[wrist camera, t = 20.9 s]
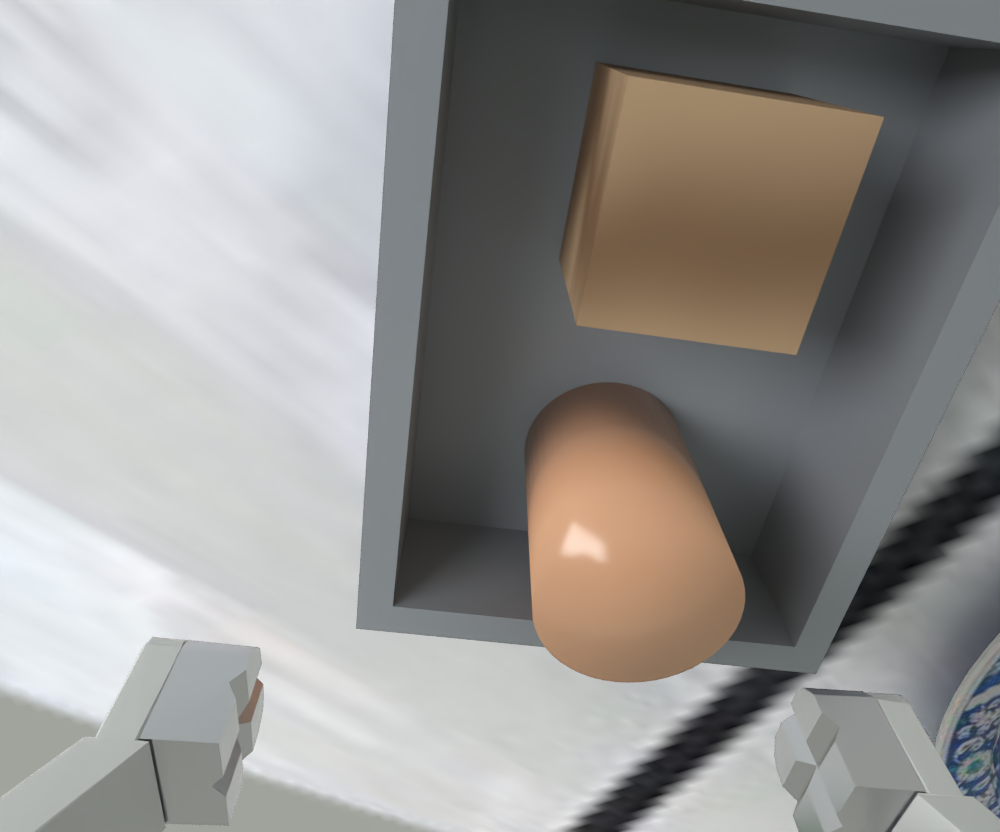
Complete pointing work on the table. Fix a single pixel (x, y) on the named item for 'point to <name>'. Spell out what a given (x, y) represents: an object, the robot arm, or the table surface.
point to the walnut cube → (708, 207)
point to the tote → (652, 359)
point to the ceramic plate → (975, 731)
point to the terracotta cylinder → (624, 539)
